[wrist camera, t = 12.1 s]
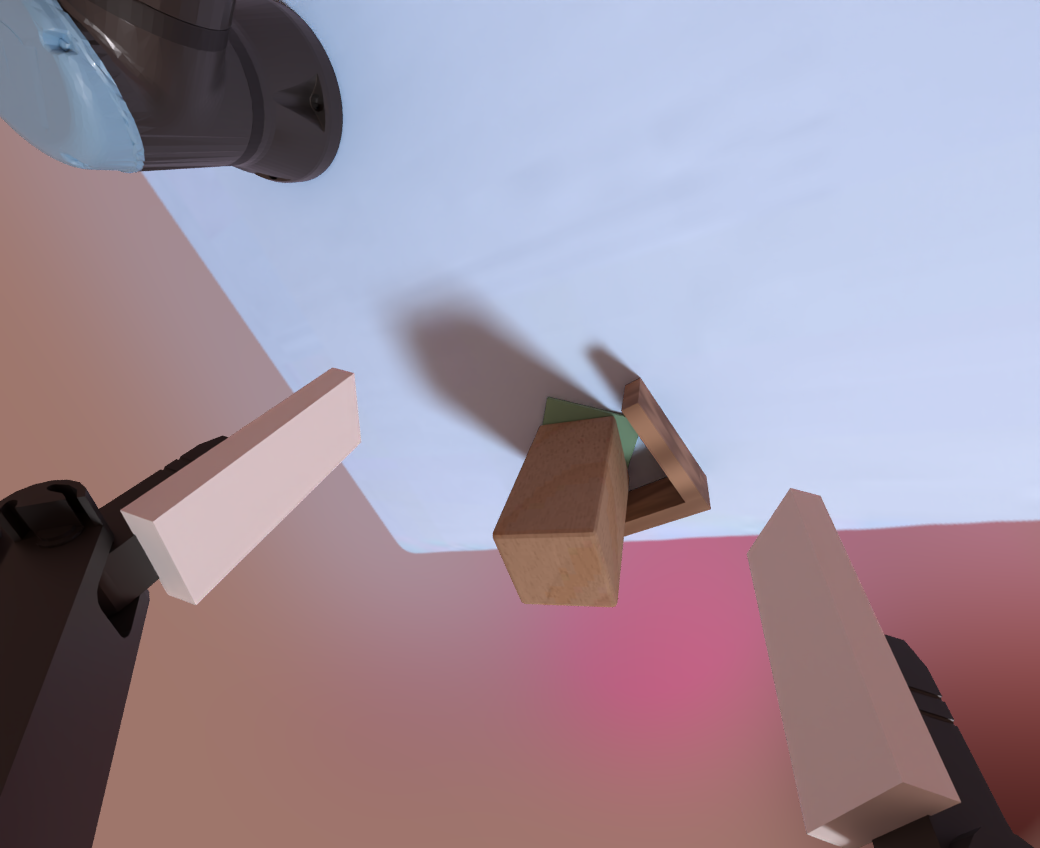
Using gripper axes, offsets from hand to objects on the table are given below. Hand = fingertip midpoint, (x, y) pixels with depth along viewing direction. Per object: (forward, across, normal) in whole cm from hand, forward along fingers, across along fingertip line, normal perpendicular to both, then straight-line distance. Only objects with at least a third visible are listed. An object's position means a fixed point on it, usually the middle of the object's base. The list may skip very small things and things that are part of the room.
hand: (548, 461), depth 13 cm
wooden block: (+36, +2, -26) cm, 44 cm away
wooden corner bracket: (+36, +4, -26) cm, 45 cm away
